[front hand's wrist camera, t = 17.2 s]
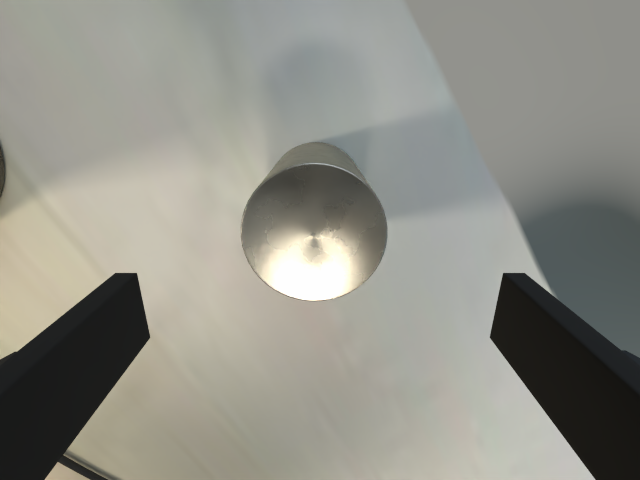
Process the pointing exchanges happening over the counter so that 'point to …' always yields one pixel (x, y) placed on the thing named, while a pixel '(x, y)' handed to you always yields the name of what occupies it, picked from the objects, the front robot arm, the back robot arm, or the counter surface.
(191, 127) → the counter surface
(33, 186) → the counter surface
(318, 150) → the tin
